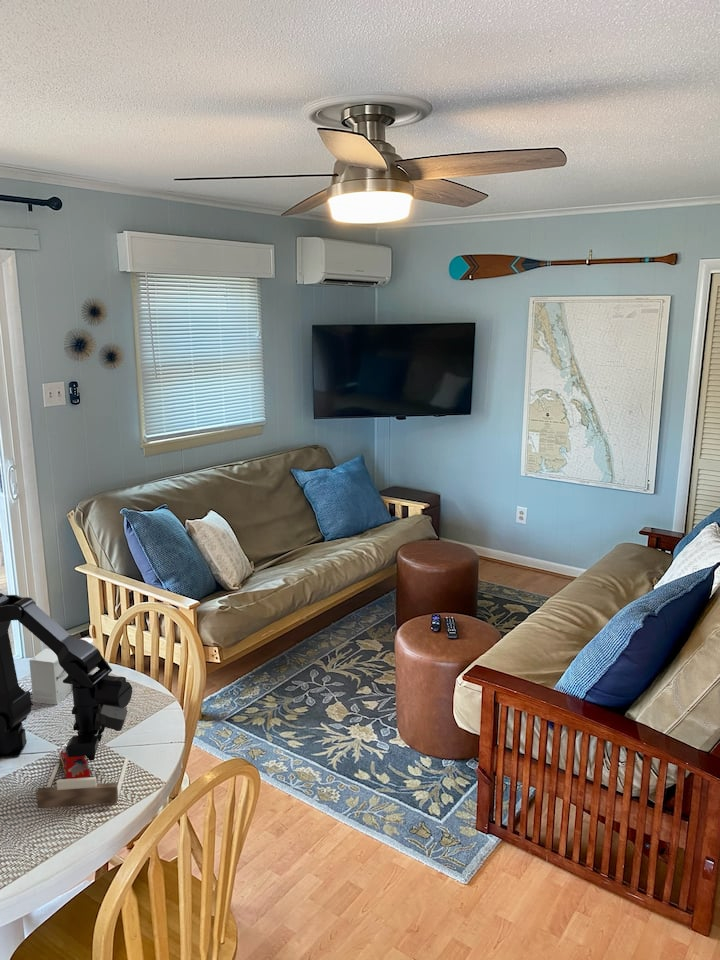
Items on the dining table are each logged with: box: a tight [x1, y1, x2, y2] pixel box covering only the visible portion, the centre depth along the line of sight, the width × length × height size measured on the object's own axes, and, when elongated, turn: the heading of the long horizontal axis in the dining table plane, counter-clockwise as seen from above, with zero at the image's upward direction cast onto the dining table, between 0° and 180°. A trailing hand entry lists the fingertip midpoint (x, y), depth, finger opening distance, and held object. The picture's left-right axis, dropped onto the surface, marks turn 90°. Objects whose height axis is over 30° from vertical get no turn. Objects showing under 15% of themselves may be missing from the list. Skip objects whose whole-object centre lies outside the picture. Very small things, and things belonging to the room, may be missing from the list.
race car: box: [59, 747, 92, 779], centre depth 169 cm, size 13×5×4 cm, turn 30°
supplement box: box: [29, 647, 72, 706], centre depth 198 cm, size 7×7×13 cm
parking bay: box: [36, 757, 130, 809], centre depth 164 cm, size 16×16×6 cm
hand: (92, 759), depth 170 cm, fingers closed
